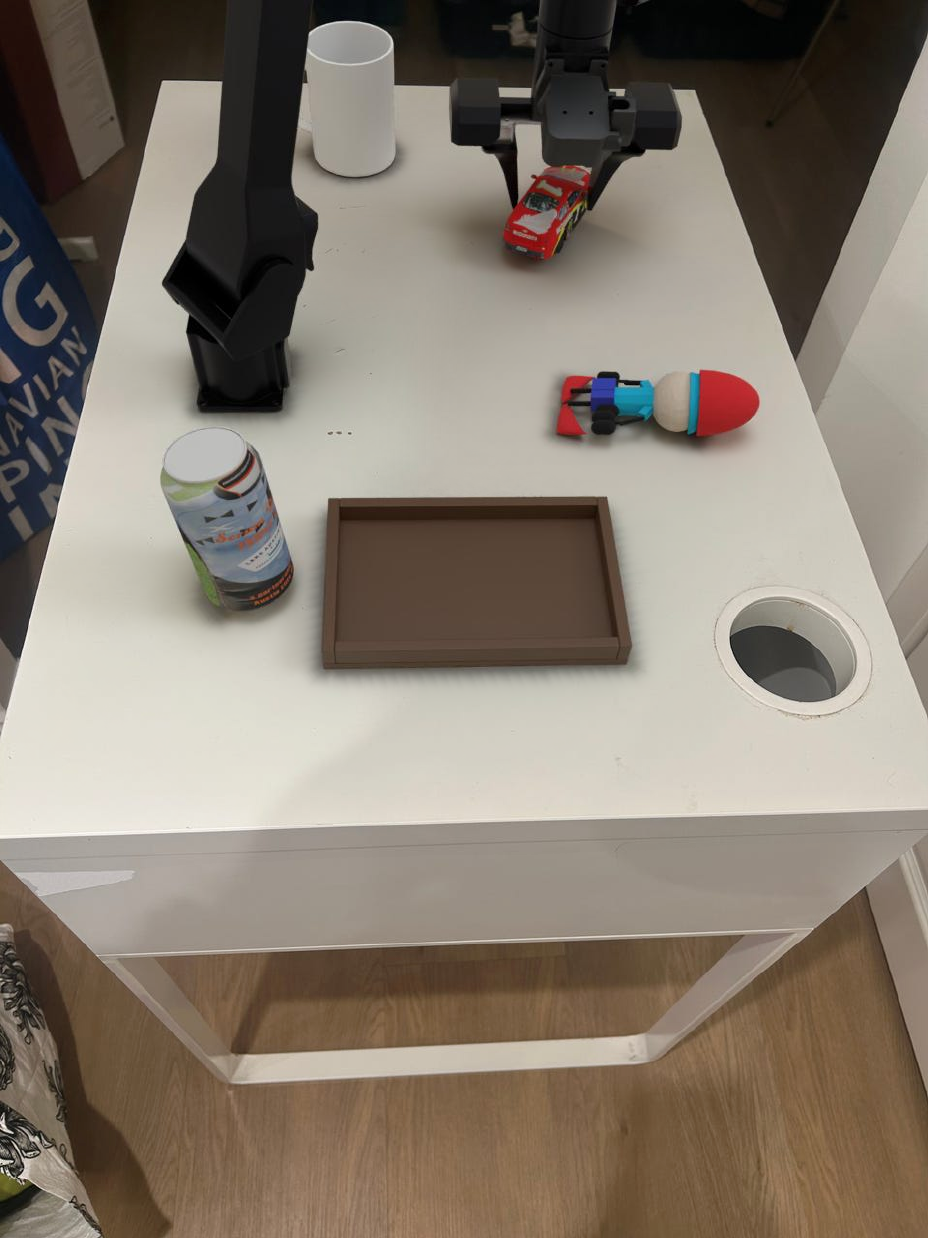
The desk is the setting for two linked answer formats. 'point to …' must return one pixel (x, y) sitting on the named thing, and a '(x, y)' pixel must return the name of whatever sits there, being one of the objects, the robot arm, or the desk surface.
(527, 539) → the tray
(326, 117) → the mug
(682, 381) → the toy figure
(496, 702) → the desk surface
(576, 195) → the race car
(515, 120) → the robot arm
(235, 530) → the beverage can
